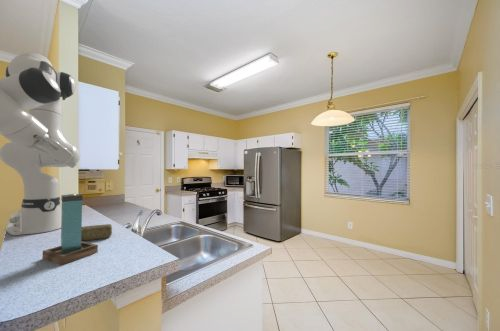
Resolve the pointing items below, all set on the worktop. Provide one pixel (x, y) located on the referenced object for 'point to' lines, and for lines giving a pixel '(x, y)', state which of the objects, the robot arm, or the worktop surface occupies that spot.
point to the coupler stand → (61, 259)
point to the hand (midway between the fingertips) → (66, 163)
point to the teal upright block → (71, 223)
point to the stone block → (96, 232)
